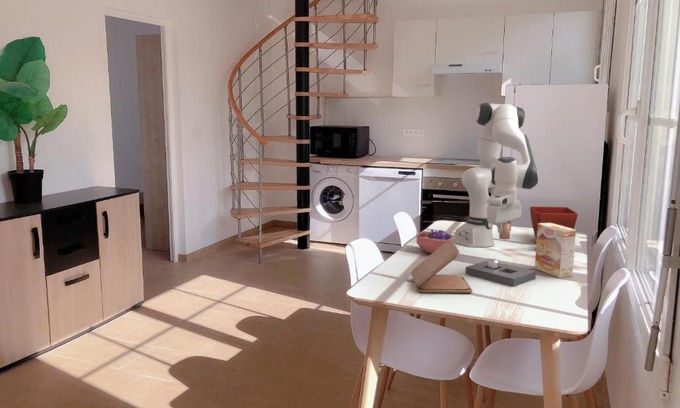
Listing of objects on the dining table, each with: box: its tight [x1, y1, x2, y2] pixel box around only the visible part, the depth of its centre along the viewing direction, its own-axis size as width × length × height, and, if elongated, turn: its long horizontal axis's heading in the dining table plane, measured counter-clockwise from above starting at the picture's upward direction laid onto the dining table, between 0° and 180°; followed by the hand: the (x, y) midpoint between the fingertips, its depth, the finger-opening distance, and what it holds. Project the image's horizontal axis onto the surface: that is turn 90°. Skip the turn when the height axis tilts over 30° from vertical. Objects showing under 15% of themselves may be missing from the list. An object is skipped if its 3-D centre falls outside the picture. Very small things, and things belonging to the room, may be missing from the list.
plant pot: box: [529, 206, 578, 240], centre depth 282 cm, size 19×19×17 cm
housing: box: [465, 259, 537, 287], centre depth 223 cm, size 22×16×3 cm
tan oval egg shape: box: [498, 222, 511, 240], centre depth 224 cm, size 4×4×6 cm
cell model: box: [415, 229, 456, 254], centre depth 260 cm, size 17×20×11 cm
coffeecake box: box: [534, 223, 577, 279], centre depth 228 cm, size 15×7×20 cm, turn 20°
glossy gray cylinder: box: [487, 258, 499, 270], centre depth 225 cm, size 4×4×6 cm
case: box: [410, 241, 473, 294], centre depth 209 cm, size 20×21×16 cm
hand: (504, 232), depth 224 cm, fingers closed on tan oval egg shape, 4 cm apart
